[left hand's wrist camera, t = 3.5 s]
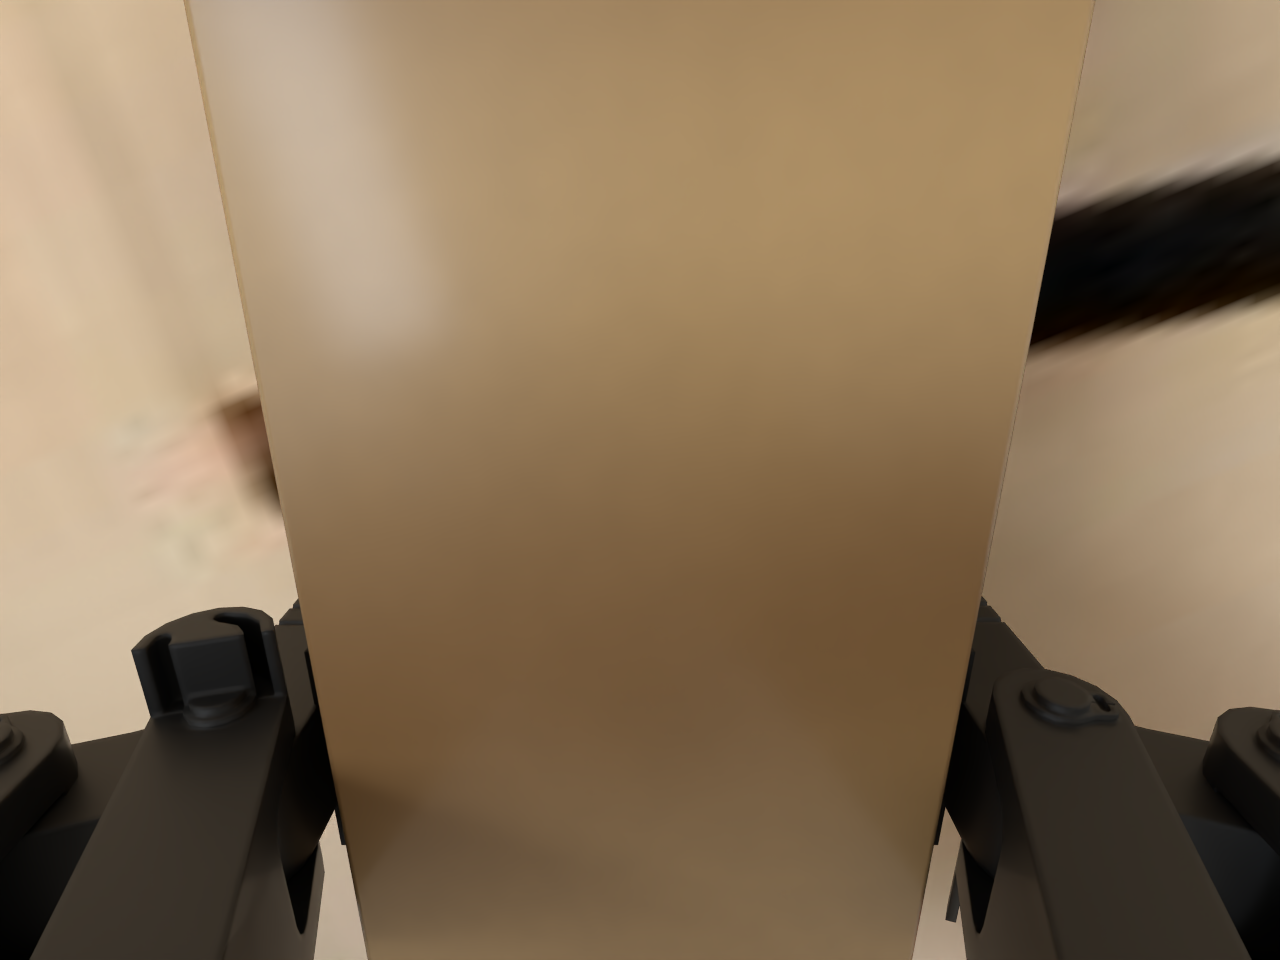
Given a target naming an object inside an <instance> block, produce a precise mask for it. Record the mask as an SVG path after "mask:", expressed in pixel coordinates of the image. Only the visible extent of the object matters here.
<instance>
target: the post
mask: <svg viewBox="0 0 1280 960" xmlns="http://www.w3.org/2000/svg"><path fill="white" fill-rule="evenodd" d="M184 5H185V10H186V15H187V20H188V25H189V31H190V36H191V41H192V46H193V51H194V57H195V62H196V67H197V72H198V77H199V83H200V88H201V93H202V98H203V103H204V109H205V114H206V119H207V124H208V129H209V135H210V140H211V145H212V150H213V156H214V161H215V166H216V171H217V176H218V182H219V187H220V192H221V197H222V202H223V208H224V213H225V218H226V223H227V228H228V234H229V239H230V244H231V249H232V254H233V260H234V265H235V270H236V275H237V280H238V286H239V291H240V296H241V301H242V306H243V312H244V317H245V322H246V327H247V333H248V338H249V343H250V348H251V353H252V359H253V364H254V369H255V374H256V379H257V385H258V390H259V395H260V400H261V405H262V411H263V416H264V421H265V426H266V431H267V437H268V442H269V447H270V452H271V457H272V463H273V468H274V473H275V478H276V483H277V489H278V494H279V499H280V504H281V509H282V515H283V520H284V525H285V530H286V536H287V541H288V546H289V551H290V556H291V562H292V567H293V572H294V577H295V582H296V588H297V593H298V598H299V603H300V608H301V614H302V619H303V624H304V629H305V634H306V640H307V645H308V650H309V655H310V660H311V666H312V671H313V676H314V681H315V686H316V692H317V697H318V702H319V707H320V713H321V718H322V723H323V728H324V733H325V739H326V744H327V749H328V754H329V759H330V765H331V770H332V775H333V780H334V785H335V791H336V796H337V801H338V806H339V811H340V817H341V822H342V827H343V832H344V837H345V843H346V848H347V853H348V858H349V863H350V869H351V874H352V879H353V884H354V889H355V895H356V900H357V905H358V910H359V916H360V921H361V926H362V931H363V936H364V942H365V947H366V952H367V957H368V960H912V956H913V951H914V946H915V940H916V935H917V930H918V925H919V919H920V914H921V909H922V904H923V899H924V893H925V888H926V883H927V878H928V872H929V867H930V862H931V857H932V851H933V846H934V841H935V836H936V831H937V825H938V820H939V815H940V810H941V804H942V799H943V794H944V789H945V784H946V778H947V773H948V768H949V763H950V757H951V752H952V747H953V742H954V736H955V731H956V726H957V721H958V716H959V710H960V705H961V700H962V695H963V689H964V684H965V679H966V674H967V669H968V663H969V658H970V653H971V648H972V642H973V637H974V632H975V627H976V621H977V616H978V611H979V606H980V601H981V595H982V590H983V585H984V580H985V574H986V569H987V564H988V559H989V554H990V548H991V543H992V538H993V533H994V527H995V522H996V517H997V512H998V506H999V501H1000V496H1001V491H1002V486H1003V480H1004V475H1005V470H1006V465H1007V459H1008V454H1009V449H1010V444H1011V438H1012V433H1013V428H1014V423H1015V418H1016V412H1017V407H1018V402H1019V397H1020V391H1021V386H1022V381H1023V376H1024V371H1025V365H1026V360H1027V355H1028V350H1029V344H1030V339H1031V334H1032V329H1033V323H1034V318H1035V313H1036V308H1037V303H1038V297H1039V292H1040V287H1041V282H1042V276H1043V271H1044V266H1045V261H1046V256H1047V250H1048V245H1049V240H1050V235H1051V229H1052V224H1053V219H1054V214H1055V208H1056V203H1057V198H1058V193H1059V188H1060V182H1061V177H1062V172H1063V167H1064V161H1065V156H1066V151H1067V146H1068V140H1069V135H1070V130H1071V125H1072V120H1073V114H1074V109H1075V104H1076V99H1077V93H1078V88H1079V83H1080V78H1081V73H1082V67H1083V62H1084V57H1085V52H1086V46H1087V41H1088V36H1089V31H1090V25H1091V20H1092V15H1093V10H1094V5H1095V0H184Z"/></svg>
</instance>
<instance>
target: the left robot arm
mask: <svg viewBox="0 0 1280 960" xmlns="http://www.w3.org/2000/svg"><path fill="white" fill-rule="evenodd" d="M131 652H132V655H133V658H134V662H135V665H136V669H137V672H138V675H139V679H140V682H141V686H142V689H143V692H144V696H145V699H146V703H147V706H148V709H149V713H150V716H151V718H150V720H149V722H148V724H147V726H146V728H145V729H144V730H140V731H136V732H132V733H127V734H122V735H117V736H112V737H107V738H102V739H97V740H92V741H87V742H82V743H77V744H72V745H71V743H70V740H69V737H68V734H67V732H66V729H65V726H64V723H63V721H62V720H61V719H59V718H58V717H57V716H55V715H54V714H52V713H50V712H41V711H32V710H29V711H22V712H14V713H7V714H0V960H314V952H315V944H316V936H317V928H318V921H319V913H320V905H321V897H322V889H323V881H324V873H325V872H324V865H323V858H322V853H321V848H320V843H319V840H320V838H321V836H322V834H323V832H324V830H325V828H326V826H327V824H328V822H329V820H330V818H331V816H332V814H333V812H334V810H335V814H336V819H337V824H338V829H339V834H340V839H341V845H346V843H345V837H344V832H343V827H342V822H341V817H340V811H339V806H338V801H337V796H336V791H335V785H334V780H333V775H332V770H331V765H330V759H329V754H328V749H327V744H326V739H325V733H324V728H323V723H322V718H321V713H320V707H319V702H318V697H317V692H316V686H315V681H314V676H313V671H312V666H311V660H310V655H309V650H308V645H307V640H306V634H305V629H304V624H303V619H302V614H301V608H300V603H299V598H298V600H297V601H296V602H295V603H294V604H293V609H289V610H288V611H287V612H286V614H285V615H284V616H283V617H282V618H281V619H280V621H279V625H275V626H274V623H273V618H271V617H270V616H269V615H267V614H266V613H265V612H263V611H262V610H257V609H252V608H247V607H228V608H216V609H212V610H207V611H202V612H197V613H193V614H190V615H187V616H185V617H182V618H179V619H177V620H174V621H171V622H169V623H166V624H165V625H163V626H161V627H159V628H158V629H156V630H154V631H153V632H151V633H149V634H148V635H146V636H145V637H144V638H143V639H142V640H141V641H140V642H139V643H138V644H137V645H136V646H135V647H134V648H133V649H132V650H131ZM945 807H946V809H947V811H948V813H949V815H950V817H951V819H952V821H953V823H954V825H955V827H956V829H957V830H958V832H959V834H960V836H961V843H960V848H959V853H958V857H957V862H956V867H955V872H954V877H953V881H952V886H951V891H950V896H949V901H948V906H947V913H946V920H948V921H952V922H956V919H957V914H958V910H959V906H960V911H961V919H962V927H963V934H964V942H965V950H966V958H967V960H1280V710H1270V709H1263V708H1255V707H1245V708H1236V709H1229V710H1228V711H1226V712H1225V713H1223V714H1222V715H1221V716H1219V717H1218V718H1217V721H1216V724H1215V727H1214V730H1213V733H1212V736H1211V738H1210V741H1205V740H1200V739H1195V738H1190V737H1185V736H1180V735H1175V734H1170V733H1165V732H1160V731H1155V730H1150V729H1145V728H1141V727H1138V726H1134V724H1133V722H1132V720H1131V718H1130V716H1129V715H1128V714H1127V712H1126V711H1125V710H1124V709H1123V708H1122V706H1121V705H1120V704H1119V703H1118V701H1117V700H1115V699H1114V698H1112V697H1111V696H1110V695H1108V694H1107V693H1105V692H1104V691H1102V690H1101V689H1100V688H1098V687H1097V686H1095V685H1092V684H1090V683H1088V682H1085V681H1083V680H1081V679H1079V678H1076V677H1074V676H1072V675H1068V674H1064V673H1060V672H1056V671H1051V670H1047V669H1044V668H1043V667H1042V665H1041V664H1040V663H1039V662H1038V661H1037V660H1036V658H1035V657H1034V656H1033V655H1032V654H1031V653H1030V651H1029V650H1028V649H1027V648H1026V647H1025V646H1024V644H1023V643H1022V642H1021V641H1020V640H1019V639H1018V638H1017V636H1016V635H1015V634H1014V633H1013V632H1012V631H1011V629H1010V628H1009V627H1008V626H1007V625H1006V624H1005V622H1001V618H1000V617H999V615H998V614H997V613H996V612H995V611H994V610H993V608H992V607H991V606H987V602H986V600H985V599H984V598H983V597H982V596H981V601H980V606H979V611H978V616H977V621H976V627H975V632H974V637H973V642H972V648H971V653H970V658H969V663H968V669H967V674H966V679H965V684H964V689H963V695H962V700H961V705H960V710H959V716H958V721H957V726H956V731H955V736H954V742H953V747H952V752H951V757H950V763H949V768H948V773H947V778H946V784H945V789H944V794H943V799H942V804H941V810H940V815H939V820H938V825H937V831H936V836H935V841H934V845H938V842H939V837H940V832H941V827H942V822H943V817H944V811H945Z"/></svg>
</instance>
